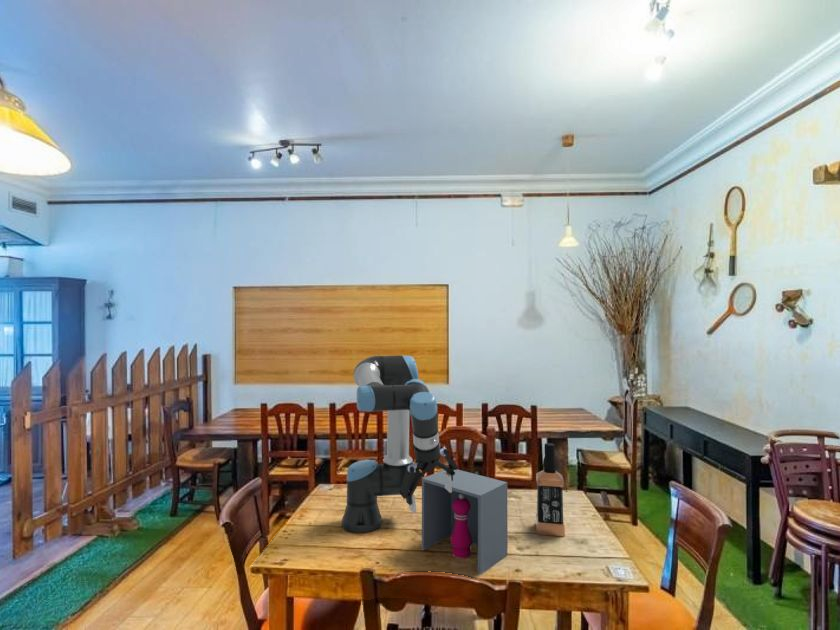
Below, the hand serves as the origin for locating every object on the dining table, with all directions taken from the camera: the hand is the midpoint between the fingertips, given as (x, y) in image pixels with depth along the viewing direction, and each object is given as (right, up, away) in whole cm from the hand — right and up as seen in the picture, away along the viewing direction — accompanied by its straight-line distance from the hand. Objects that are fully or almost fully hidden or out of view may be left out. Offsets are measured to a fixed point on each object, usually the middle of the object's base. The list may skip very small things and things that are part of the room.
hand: (431, 500), depth 140 cm
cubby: (+11, -23, +13) cm, 29 cm away
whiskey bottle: (+45, -24, +31) cm, 60 cm away
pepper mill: (+10, -23, +12) cm, 28 cm away
